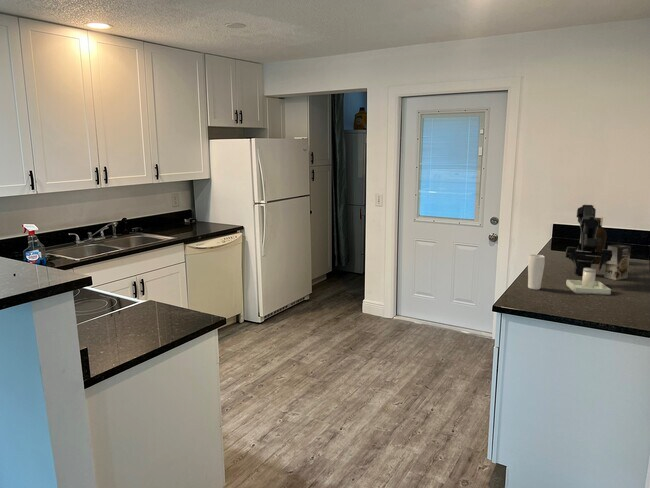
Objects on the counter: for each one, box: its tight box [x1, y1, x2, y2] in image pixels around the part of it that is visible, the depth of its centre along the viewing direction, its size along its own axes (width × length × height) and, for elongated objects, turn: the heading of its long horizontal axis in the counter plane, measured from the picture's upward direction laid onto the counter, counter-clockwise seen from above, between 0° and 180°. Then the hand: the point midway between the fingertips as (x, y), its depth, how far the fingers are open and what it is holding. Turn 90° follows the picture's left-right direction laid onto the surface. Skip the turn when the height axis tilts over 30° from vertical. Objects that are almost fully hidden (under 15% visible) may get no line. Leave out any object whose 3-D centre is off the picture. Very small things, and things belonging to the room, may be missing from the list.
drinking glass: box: [527, 254, 546, 291], centre depth 223 cm, size 7×7×15 cm
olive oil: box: [595, 217, 608, 265], centre depth 276 cm, size 11×11×25 cm
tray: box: [565, 279, 612, 296], centre depth 222 cm, size 14×14×2 cm
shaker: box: [581, 267, 597, 288], centre depth 221 cm, size 5×5×9 cm
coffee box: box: [603, 244, 632, 281], centre depth 242 cm, size 9×6×16 cm
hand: (588, 269), depth 225 cm, fingers open, 9 cm apart
